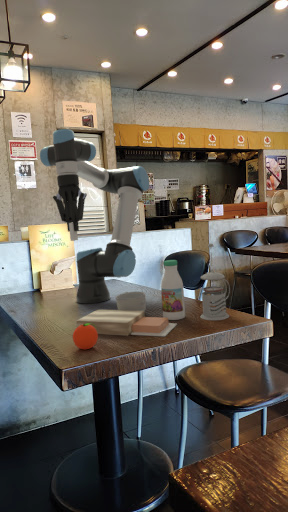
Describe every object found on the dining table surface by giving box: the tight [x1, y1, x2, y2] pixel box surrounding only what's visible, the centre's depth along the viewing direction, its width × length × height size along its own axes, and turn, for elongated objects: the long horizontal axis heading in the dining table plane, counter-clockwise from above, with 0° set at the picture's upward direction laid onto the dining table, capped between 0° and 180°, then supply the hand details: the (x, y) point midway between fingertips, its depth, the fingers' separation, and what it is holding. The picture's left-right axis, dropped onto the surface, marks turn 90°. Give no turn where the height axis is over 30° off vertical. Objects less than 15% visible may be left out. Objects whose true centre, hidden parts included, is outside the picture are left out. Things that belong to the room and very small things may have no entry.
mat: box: [130, 322, 178, 337], centre depth 117 cm, size 12×11×1 cm
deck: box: [75, 309, 146, 336], centre depth 122 cm, size 14×18×4 cm
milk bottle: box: [160, 259, 186, 321], centre depth 128 cm, size 8×8×20 cm
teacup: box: [115, 291, 147, 311], centre depth 137 cm, size 14×11×8 cm
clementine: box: [72, 323, 99, 350], centre depth 104 cm, size 8×7×7 cm
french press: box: [199, 242, 231, 321], centre depth 126 cm, size 10×12×25 cm
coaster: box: [132, 316, 170, 333], centre depth 117 cm, size 9×9×2 cm
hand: (74, 240), depth 135 cm, fingers closed
